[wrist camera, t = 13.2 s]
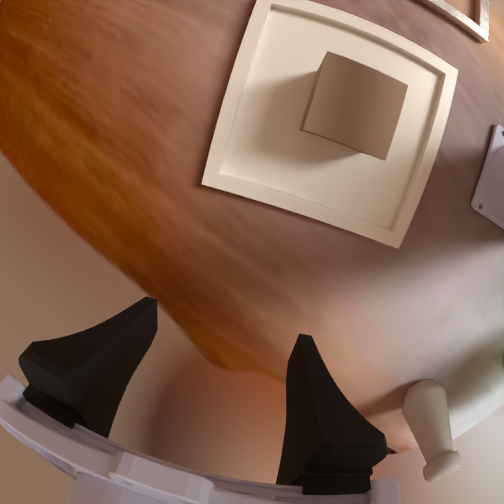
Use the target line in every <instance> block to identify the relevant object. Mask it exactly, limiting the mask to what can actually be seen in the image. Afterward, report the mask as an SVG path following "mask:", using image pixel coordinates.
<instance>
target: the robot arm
mask: <svg viewBox="0 0 504 504" xmlns="http://www.w3.org/2000/svg"><path fill="white" fill-rule="evenodd" d="M501 133H502V134H501ZM479 205H480V208H479ZM471 207H472V208H473V209H474V210H476V211H477V212H479V213H480V214H482V215H484V216H485V217H487V218H488V219H490V220H491V221H493V222H494V223H495V224H497V225H498V226H500V227H501V228H503V229H504V128H503V127H502V126H501V125H498V124H496V125H495V126H494V130H493V134H492V138H491V142H490V146H489V149H488V153H487V156H486V160H485V163H484V166H483V170H482V173H481V176H480V179H479V182H478V185H477V187H476V190H475V193H474V196H473V198H472V201H471ZM157 329H158V328H157V299H153V298H150V297H145V298H143V299H141V300H140V301H138V302H137V303H135V304H133V305H132V306H130V307H129V308H127V309H125V310H124V311H122V312H121V313H119V314H117V315H115V316H114V317H112V318H110V319H108V320H106V321H104V322H103V323H100V324H98V325H96V326H94V327H92V328H89V329H87V330H84V331H81V332H78V333H75V334H72V335H69V336H65V337H61V338H57V339H51V340H45V341H36V342H32V343H31V344H30V345H29V346H28V348H27V349H26V350H25V351H24V352H23V353H22V354H21V355H20V357H19V365H20V367H21V369H22V371H23V373H24V375H25V376H26V378H27V380H28V382H29V385H28V387H27V388H26V386H25V385H24V384H23V383H21V382H20V381H19V380H17V379H16V378H15V377H13V376H12V375H11V374H7V376H6V377H5V378H4V379H3V380H2V382H1V383H0V423H1V424H2V426H3V427H4V428H5V429H6V430H7V431H8V432H10V433H11V434H12V435H13V436H14V437H16V438H17V439H18V440H19V441H21V442H22V443H23V444H24V445H26V446H27V447H28V448H30V449H31V450H32V451H33V452H35V453H36V454H38V455H39V456H40V457H41V458H43V459H44V460H46V461H47V462H48V463H50V464H52V465H53V466H54V467H56V468H57V469H59V470H61V471H62V472H64V473H65V474H67V475H68V476H70V477H71V478H73V479H75V480H76V481H75V483H74V485H73V487H72V490H71V492H70V494H69V496H68V498H67V500H66V502H65V504H401V502H400V494H399V487H398V478H397V477H392V478H384V479H376V480H372V481H370V476H371V475H372V474H373V472H372V467H373V466H375V465H376V464H378V463H379V462H380V461H381V460H383V459H384V458H385V457H386V456H387V454H388V449H387V443H386V439H385V435H384V434H383V433H382V432H381V431H379V430H378V429H377V428H376V427H374V426H373V425H372V424H370V423H369V422H368V421H367V420H366V419H365V418H364V417H363V416H362V415H361V414H360V413H359V412H358V411H357V410H356V409H355V408H354V407H353V406H352V405H351V403H350V402H349V401H348V400H347V399H346V397H345V396H344V395H343V393H342V392H341V391H340V389H339V388H338V386H337V385H336V383H335V382H334V380H333V378H332V377H331V375H330V373H329V371H328V370H327V368H326V366H325V364H324V362H323V360H322V358H321V356H320V354H319V351H318V349H317V347H316V345H315V342H314V340H313V338H312V336H310V335H304V334H299V336H298V338H297V341H296V343H295V346H294V348H293V351H292V353H291V356H290V358H289V361H288V367H287V376H286V427H285V435H284V442H283V449H282V455H281V460H280V466H279V471H278V476H277V481H276V484H267V483H259V482H251V481H245V480H239V479H234V478H228V477H223V476H218V475H213V474H209V473H205V472H201V471H197V470H193V469H189V468H186V467H182V466H179V465H176V464H172V463H169V462H166V461H163V460H160V459H157V458H154V457H151V456H148V455H146V454H143V453H140V452H138V451H135V450H132V449H130V448H127V447H125V446H122V445H120V444H118V443H116V442H114V441H111V440H109V439H108V437H109V433H110V430H111V427H112V424H113V420H114V418H115V415H116V412H117V409H118V406H119V404H120V401H121V399H122V396H123V394H124V392H125V389H126V387H127V385H128V383H129V381H130V379H131V377H132V375H133V374H134V372H135V370H136V369H137V367H138V365H139V364H140V362H141V360H142V359H143V357H144V355H145V354H146V352H147V350H148V349H149V347H150V345H151V343H152V341H153V339H154V337H155V334H156V332H157Z"/></svg>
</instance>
